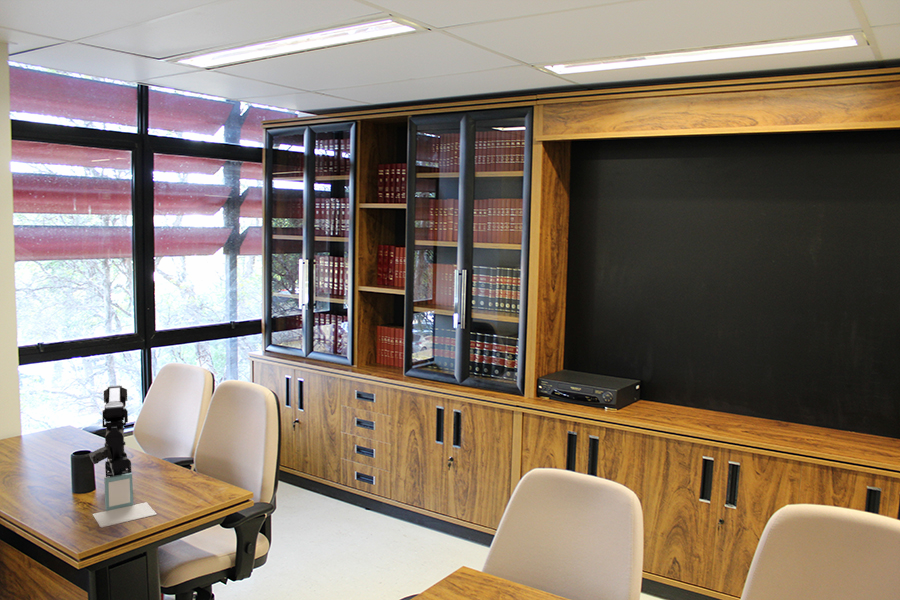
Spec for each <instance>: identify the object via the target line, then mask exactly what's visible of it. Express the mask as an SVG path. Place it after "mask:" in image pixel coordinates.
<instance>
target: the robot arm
mask: <svg viewBox="0 0 900 600" xmlns="http://www.w3.org/2000/svg"><path fill="white" fill-rule="evenodd" d="M126 402H128V389H126V388H124V387H123V386H122V385H119V384H118V385H109V386H107V388H106V389H105V390H103V403H104V404H105V405H104V409H102V428H105V437H104V438H105V439H104V440H105V442H104V446H103V447H100V448H98V449H96V450H94V451H92V452H90V453H88V456H89V459H90V460H91V462H92V463H93V465H97V464H98V463H99V462H101V461H103V460H105V459H106V461H105V462H104V463H105V465H104V467H105V468H104V469H105V470H104V471H105V478H106V477H111V476H116V475H122V474H127V473H132V461H131V459H130V458H128V455H127V452H126V451H125V446H126V441H125V439H124V438H125V432H124V431H125V430H124V427H125V426H127V423H128V422H129V417H128V416H129V415H128V414H129V412H128V411H129V410H128V409H127V408H126Z"/></svg>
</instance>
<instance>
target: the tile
mask: <svg viewBox="0 0 900 600" xmlns="http://www.w3.org/2000/svg"><path fill="white" fill-rule="evenodd" d="M103 483H104V505H105V506H104V508H105V510H104V511H108V510H113V509H118V508H122V507H127V506H131V505H134V490H133V483H134V482H133V473H132V472H131V473H127V474H122V475H116V476H111V477H110V476H109V477H106V476H105V477H104V482H103Z"/></svg>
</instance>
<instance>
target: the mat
mask: <svg viewBox="0 0 900 600" xmlns="http://www.w3.org/2000/svg"><path fill="white" fill-rule="evenodd" d="M157 515H158V514H157V512H156V511H155V510H154V509H153V508H152V507H151V505H149V503H148V502H147V501H145V502H142V503H137V504H133V505H131V506H127V507H122V508H118V509H113V510H108V511H106V510H104V511H99V512H96V513H92V516H93V518H94V519H95V521H96V523H97V524H98V526H99V528H106V527H110V526H114V525H118V524H123V523H127V522H132V521H136V520H140V519H144V518H149V517H154V516H157Z"/></svg>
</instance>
